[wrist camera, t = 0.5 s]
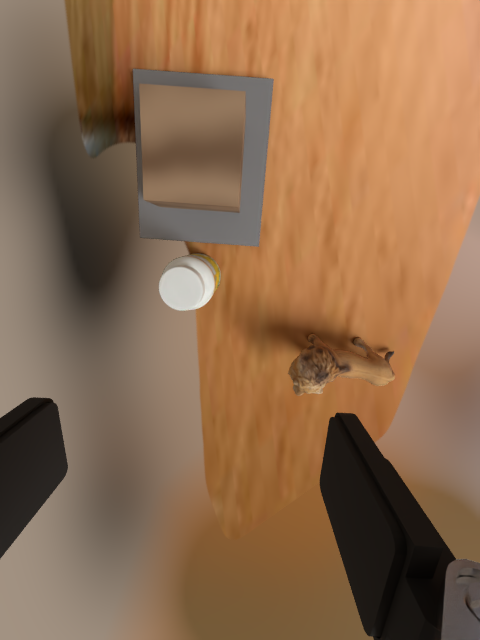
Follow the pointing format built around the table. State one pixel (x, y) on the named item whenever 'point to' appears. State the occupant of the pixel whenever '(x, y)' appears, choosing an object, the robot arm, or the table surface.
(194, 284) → the supplement bottle
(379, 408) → the table surface
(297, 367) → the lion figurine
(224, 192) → the walnut block
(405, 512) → the robot arm
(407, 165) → the table surface
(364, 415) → the table surface
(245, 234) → the base plate
